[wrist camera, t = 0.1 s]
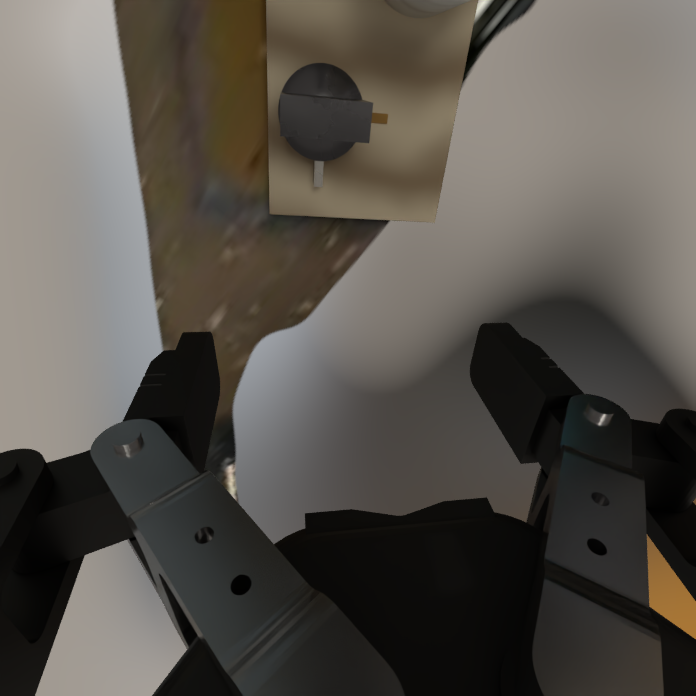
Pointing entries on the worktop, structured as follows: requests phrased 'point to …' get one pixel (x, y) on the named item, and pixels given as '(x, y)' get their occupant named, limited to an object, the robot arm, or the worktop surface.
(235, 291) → the worktop surface
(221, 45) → the worktop surface
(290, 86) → the dark grey rotary knob
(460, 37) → the base
